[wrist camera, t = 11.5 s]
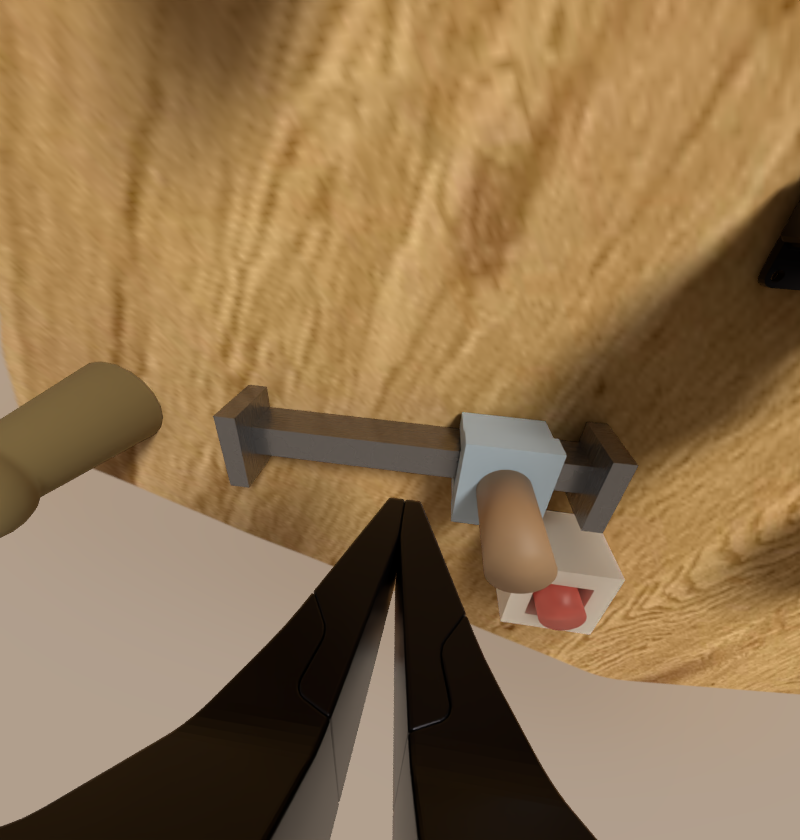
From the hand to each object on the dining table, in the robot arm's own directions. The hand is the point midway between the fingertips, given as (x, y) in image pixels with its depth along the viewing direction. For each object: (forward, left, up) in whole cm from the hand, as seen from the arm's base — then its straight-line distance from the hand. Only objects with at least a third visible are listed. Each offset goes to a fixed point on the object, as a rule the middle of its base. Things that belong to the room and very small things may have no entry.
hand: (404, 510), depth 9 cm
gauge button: (-10, +14, -10) cm, 20 cm away
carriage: (-5, +6, -12) cm, 15 cm away
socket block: (-10, +14, -12) cm, 21 cm away
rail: (0, +6, -12) cm, 14 cm away
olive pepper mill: (+21, +6, -13) cm, 25 cm away
